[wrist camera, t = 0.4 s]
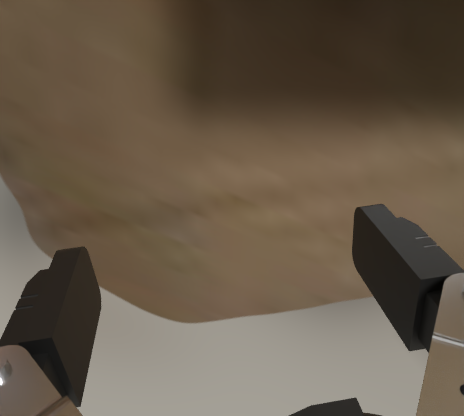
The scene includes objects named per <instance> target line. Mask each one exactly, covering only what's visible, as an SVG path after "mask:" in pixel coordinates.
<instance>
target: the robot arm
mask: <svg viewBox="0 0 464 416" xmlns="http://www.w3.org/2000/svg"><path fill="white" fill-rule="evenodd" d="M352 255H353V261H354V265H355V267H356V269H357V271H358V273H359V274H360V276H361V277H362V279H363V281H364V282H365V284H366V285H367V287H368V288H369V290H370V291H371V293H372V294H373V296H374V298H375V299H376V301H377V302H378V304H379V305H380V307H381V308H382V310H383V312H384V313H385V315H386V316H387V318H388V319H389V320H390V322H391V324H392V325H393V327H394V329H395V330H396V331H397V333H398V335H399V336H400V338H401V339H402V341H403V342H404V344H405V346H406V347H407V349H408V350H409V351H413V350H419V349H426V350H427V351H428V353H429V356H428V360H427V366H426V370H425V375H424V380H423V384H422V389H421V394H420V399H419V403H418V408H417V413H416V416H464V270H463V269H462V268H461V267H460V266H459V265H458V264H457V263H456V262H455V261H454V260H453V259H452V258H451V257H450V256H449V255H448V254H446V253H445V252H444V251H443V250H442V249H441V248H440V247H439V246H437V245H436V243H435V242H434V241H433V240H432V239H431V238H430V237H428V235H427V234H426V233H425V232H424V231H423V230H422V229H421V228H420V227H419V226H418V225H417V224H415V223H413V222H411V221H409V220H407V219H405V218H403V217H400V218H396V217H395V216H394V215H393V214H392V213H391V212H390V211H389V210H388V209H387V207H386V206H385V205H383V204H377V205H370V206H363V207H357V208H356V210H355V213H354V227H353V244H352ZM100 311H101V294H100V289H99V286H98V282H97V279H96V276H95V273H94V270H93V266H92V263H91V260H90V257H89V254H88V251H87V249H86V248H85V247H77V248H70V249H63V250H58V251H56V253H55V255H54V258H53V260H52V263H51V265H50V267H49V269H45V270H40V271H39V272H38V273H37V274H36V275H35V276H34V277H33V278H32V279H31V280H30V281H29V282H28V283H27V284H26V286H25V288H24V291H23V292H22V295H21V299H19V301H18V303H17V305H16V310H14V312H13V314H12V316H11V318H10V320H9V322H8V324H7V327H6V328H5V331H4V333H3V335H2V337H1V339H0V416H82V414H81V413H80V412H79V410H78V409H77V408H76V407H80V406H81V402H82V397H83V392H84V387H85V382H86V377H87V373H88V368H89V363H90V359H91V354H92V349H93V344H94V339H95V334H96V330H97V325H98V320H99V316H100ZM289 416H381V415H375V414H370V413H363V412H362V410H361V407H360V405H359V403H358V401H357V399H356V398H351V399H346V400H340V401H334V402H329V403H323V404H317V405H312V406H309V407H307V408H305V409H302V410H300V411H298V412H296V413H294V414H292V415H289Z"/></svg>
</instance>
